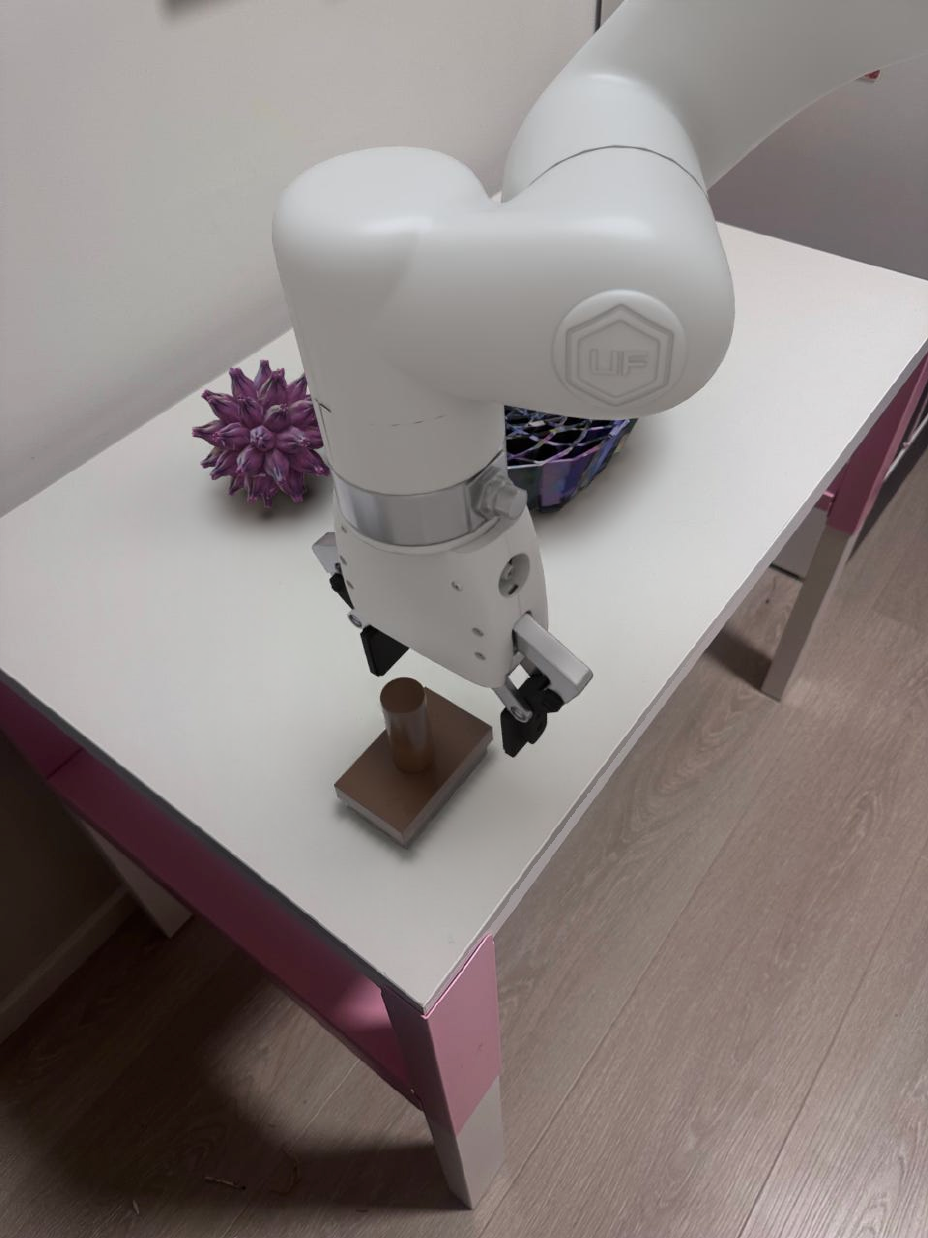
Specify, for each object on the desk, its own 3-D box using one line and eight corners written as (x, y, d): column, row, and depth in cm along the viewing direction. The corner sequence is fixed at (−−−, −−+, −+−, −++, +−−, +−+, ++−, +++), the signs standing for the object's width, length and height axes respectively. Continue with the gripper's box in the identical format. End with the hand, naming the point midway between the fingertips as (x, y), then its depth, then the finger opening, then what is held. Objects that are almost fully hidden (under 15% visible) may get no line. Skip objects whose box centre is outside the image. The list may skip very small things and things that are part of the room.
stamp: (429, 711, 60) (415, 623, 53) (494, 752, 58) (488, 665, 51) (341, 808, 56) (312, 726, 49) (407, 856, 54) (387, 777, 46)
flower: (271, 561, 73) (175, 481, 76) (372, 479, 78) (278, 408, 81) (252, 470, 63) (143, 384, 66) (369, 383, 68) (263, 307, 71)
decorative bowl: (311, 485, 79) (282, 398, 71) (477, 315, 91) (467, 224, 83) (562, 595, 69) (560, 508, 61) (709, 386, 81) (724, 291, 73)
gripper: (641, 491, 36) (619, 722, 49) (332, 366, 43) (384, 595, 56) (538, 609, 32) (543, 824, 45) (220, 450, 40) (304, 673, 53)
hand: (455, 696), depth 51 cm, fingers open, 9 cm apart
